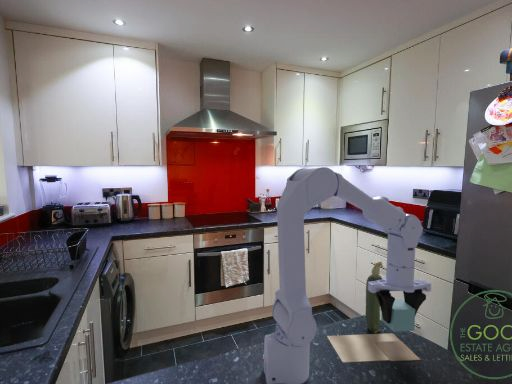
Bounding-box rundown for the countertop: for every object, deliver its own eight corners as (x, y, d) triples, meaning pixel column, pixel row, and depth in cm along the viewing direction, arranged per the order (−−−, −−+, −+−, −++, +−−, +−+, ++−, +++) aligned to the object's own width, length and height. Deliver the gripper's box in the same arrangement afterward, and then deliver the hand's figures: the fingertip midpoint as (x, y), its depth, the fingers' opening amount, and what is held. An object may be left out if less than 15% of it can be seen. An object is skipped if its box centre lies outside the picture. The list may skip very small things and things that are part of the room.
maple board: (343, 369, 59) (343, 363, 59) (326, 340, 69) (326, 335, 69) (420, 365, 61) (420, 359, 61) (392, 337, 71) (392, 332, 71)
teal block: (393, 331, 61) (394, 310, 61) (381, 320, 66) (382, 300, 66) (414, 330, 61) (415, 309, 61) (400, 319, 66) (401, 299, 66)
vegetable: (360, 330, 74) (363, 259, 73) (371, 327, 76) (374, 257, 75) (374, 339, 70) (377, 264, 69) (385, 335, 72) (388, 261, 71)
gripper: (380, 270, 58) (377, 331, 59) (442, 269, 59) (439, 329, 60) (364, 260, 65) (362, 315, 66) (420, 259, 67) (417, 313, 67)
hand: (397, 320), depth 63 cm, fingers closed on teal block, 5 cm apart
